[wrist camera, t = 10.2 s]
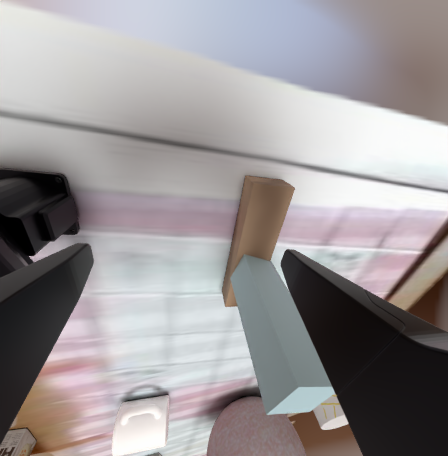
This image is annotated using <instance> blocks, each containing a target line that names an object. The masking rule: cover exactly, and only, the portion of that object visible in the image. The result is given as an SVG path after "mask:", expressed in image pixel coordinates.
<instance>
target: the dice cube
mask: <svg viewBox="0 0 448 456" xmlns="http://www.w3.org/2000/svg"><path fill="white" fill-rule="evenodd" d="M147 456H162V455H161V454H160V453H159V452H158V453H154V454H150V455H147Z"/></svg>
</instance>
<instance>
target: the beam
mask: <svg viewBox="0 0 448 456" xmlns="http://www.w3.org/2000/svg"><path fill="white" fill-rule="evenodd" d="M294 190H295V188H294V187H293V186H291V185H290V184H288V183H287V182H285V181H283V180H280V179H271V178H262V177H254V176H245V181H244V185H243V190H242V195H241V200H240V205H239V210H238V215H237V220H236V225H235V229H234V234H233V239H232V244H231V249H230V254H229V259H228V264H227V268H226V273H225V278H224V283H223V288H222V293H223V298H224V303H225V307H233V306H237V302H236V298H235V294H234V291H233V287H232V283H231V279H230V278H231V276H232V274H233V272H234V271H235V269H236V267H237V265H238V264H239V262H240V260H241V258H242V257H243V255H244V254H245V255H249V256H253V257H256V258H260V259H264V260H268V261H270V260H271V257H272V254H273V251H274V248H275V245H276V242H277V239H278V236H279V233H280V230H281V228H282V225H283V222H284V219H285V216H286V213H287V210H288V207H289V204H290V201H291V198H292V195H293V192H294Z"/></svg>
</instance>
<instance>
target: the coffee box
mask: <svg viewBox="0 0 448 456" xmlns="http://www.w3.org/2000/svg"><path fill="white" fill-rule="evenodd" d="M35 443H36V440H35V438H34V437H33V436H32V434H31V433H30V432H29V431H28V429H26V428H25V429H17V430H9V431H8V432H7V434H6V436H5V438H4V440H3V442H2V443H1V445H0V456H30V454H31V452H32V450H33V447H34V445H35Z"/></svg>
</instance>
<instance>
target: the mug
mask: <svg viewBox="0 0 448 456" xmlns="http://www.w3.org/2000/svg"><path fill="white" fill-rule="evenodd" d="M168 424H169V395H164V396H158V397H152V398H146V399H139V400H133V401H127V402H123V403H122V404H121V406H120V408H119V411H118V414H117V417H116V421H115V426H114V431H113V438H112V455H113V456H122V455H126V454H131V453H136V452H141V451H145V450H150V449H155V448H160V447H164V446H166V444H167V436H168Z"/></svg>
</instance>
